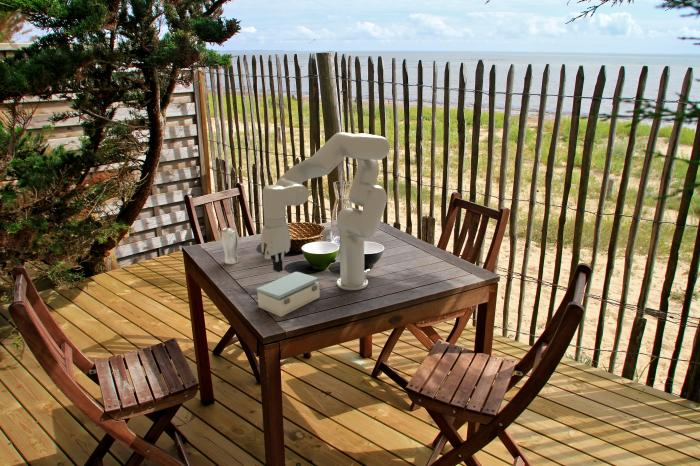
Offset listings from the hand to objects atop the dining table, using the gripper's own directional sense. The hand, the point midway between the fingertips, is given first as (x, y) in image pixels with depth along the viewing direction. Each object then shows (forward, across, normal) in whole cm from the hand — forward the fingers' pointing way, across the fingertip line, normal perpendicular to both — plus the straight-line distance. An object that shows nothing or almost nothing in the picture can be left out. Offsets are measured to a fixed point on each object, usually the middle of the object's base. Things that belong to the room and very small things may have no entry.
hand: (278, 270), depth 186 cm
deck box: (+15, -6, -2) cm, 16 cm away
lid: (+9, -6, -2) cm, 11 cm away
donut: (+15, -58, -28) cm, 66 cm away
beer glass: (+15, -17, -50) cm, 55 cm away
